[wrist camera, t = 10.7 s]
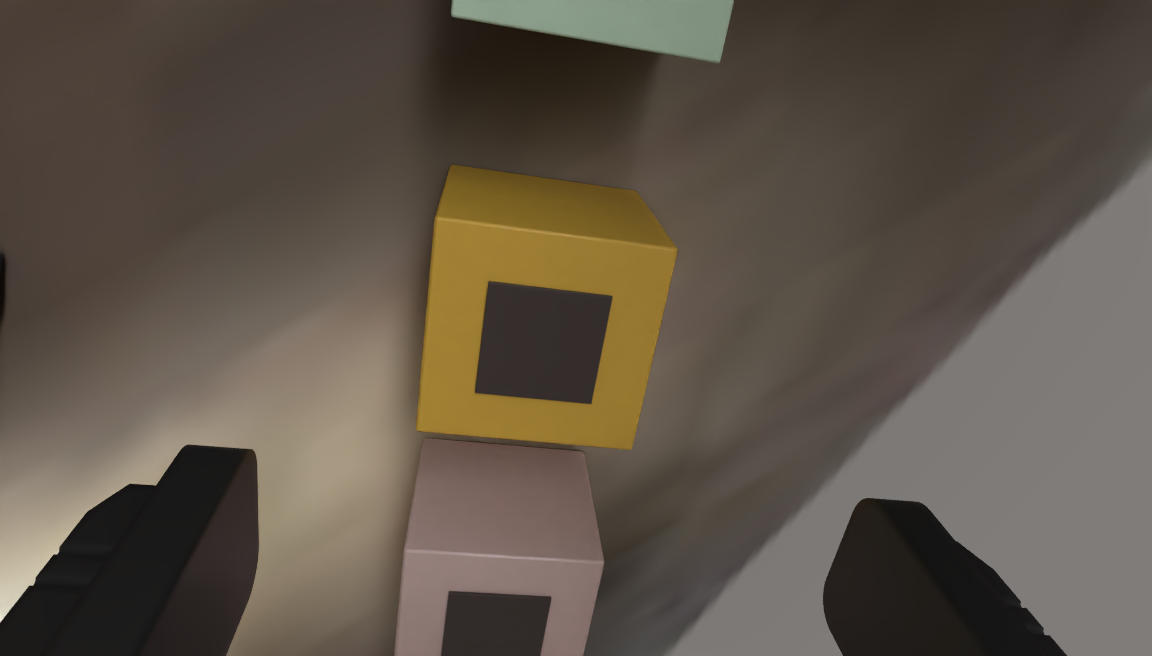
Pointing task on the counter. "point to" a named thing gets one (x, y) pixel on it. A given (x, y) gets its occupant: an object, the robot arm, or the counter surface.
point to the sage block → (616, 22)
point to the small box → (0, 265)
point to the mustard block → (541, 310)
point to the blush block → (498, 553)
